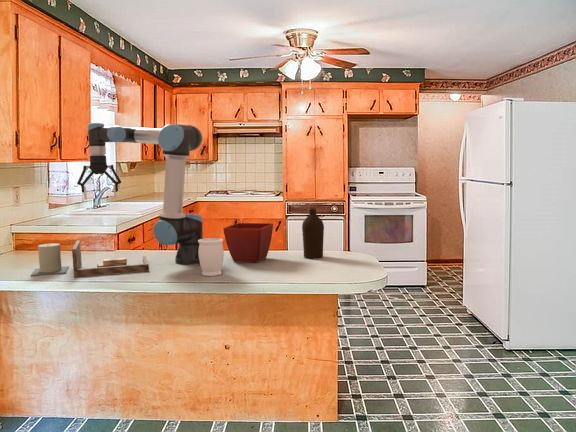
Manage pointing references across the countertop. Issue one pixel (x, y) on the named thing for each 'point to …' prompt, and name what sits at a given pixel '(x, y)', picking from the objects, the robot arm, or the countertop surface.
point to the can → (49, 257)
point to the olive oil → (313, 235)
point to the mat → (38, 273)
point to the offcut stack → (113, 262)
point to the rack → (102, 270)
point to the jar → (211, 256)
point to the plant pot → (248, 241)
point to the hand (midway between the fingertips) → (100, 198)
